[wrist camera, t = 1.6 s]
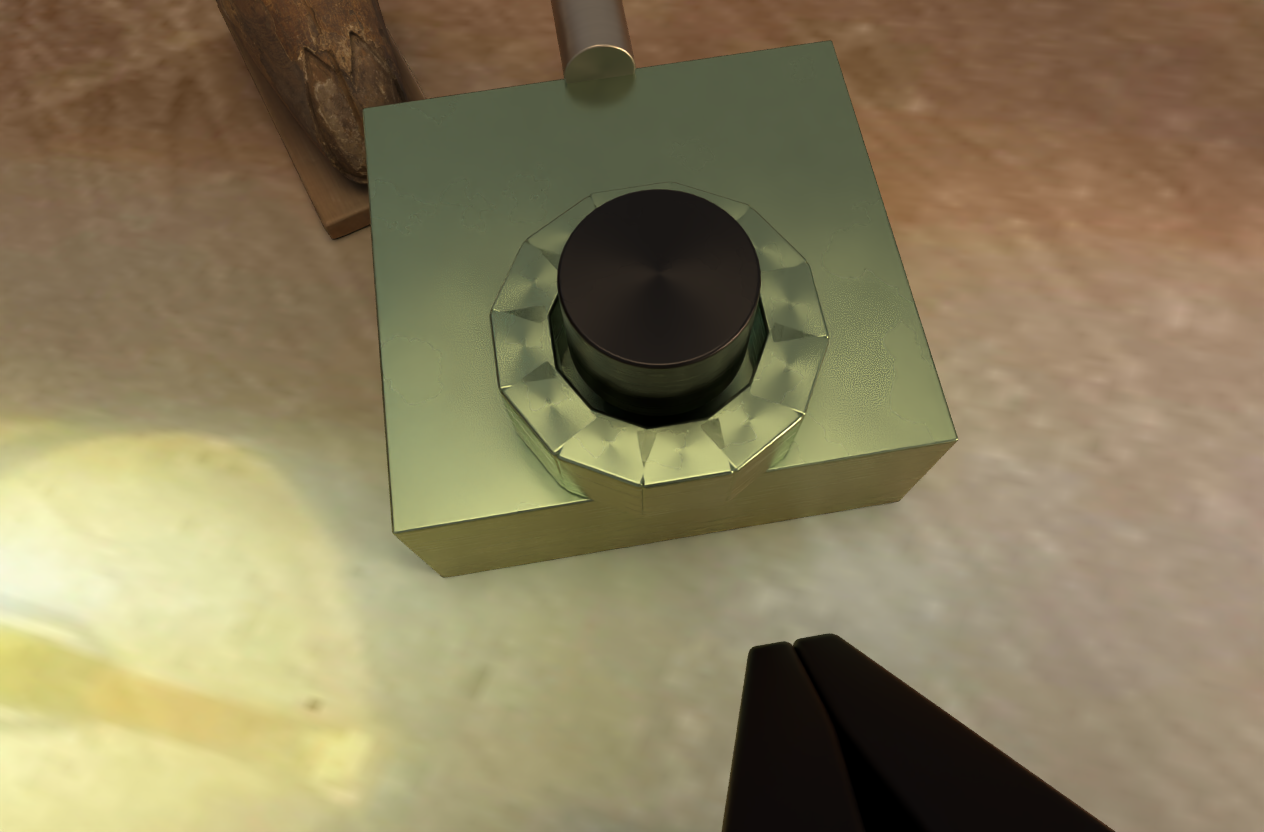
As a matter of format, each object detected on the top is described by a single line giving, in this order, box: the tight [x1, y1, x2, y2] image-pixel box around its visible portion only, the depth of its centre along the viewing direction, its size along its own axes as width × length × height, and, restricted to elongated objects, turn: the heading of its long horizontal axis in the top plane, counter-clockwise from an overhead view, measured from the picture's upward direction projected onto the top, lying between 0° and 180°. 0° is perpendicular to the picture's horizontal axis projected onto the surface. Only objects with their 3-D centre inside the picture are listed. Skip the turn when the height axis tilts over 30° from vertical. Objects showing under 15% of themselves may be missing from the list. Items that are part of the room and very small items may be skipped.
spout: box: [551, 0, 635, 84], centre depth 23 cm, size 4×2×2 cm, turn 9°
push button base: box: [362, 40, 958, 578], centre depth 22 cm, size 12×12×7 cm
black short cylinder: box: [557, 189, 761, 416], centre depth 17 cm, size 4×4×2 cm
